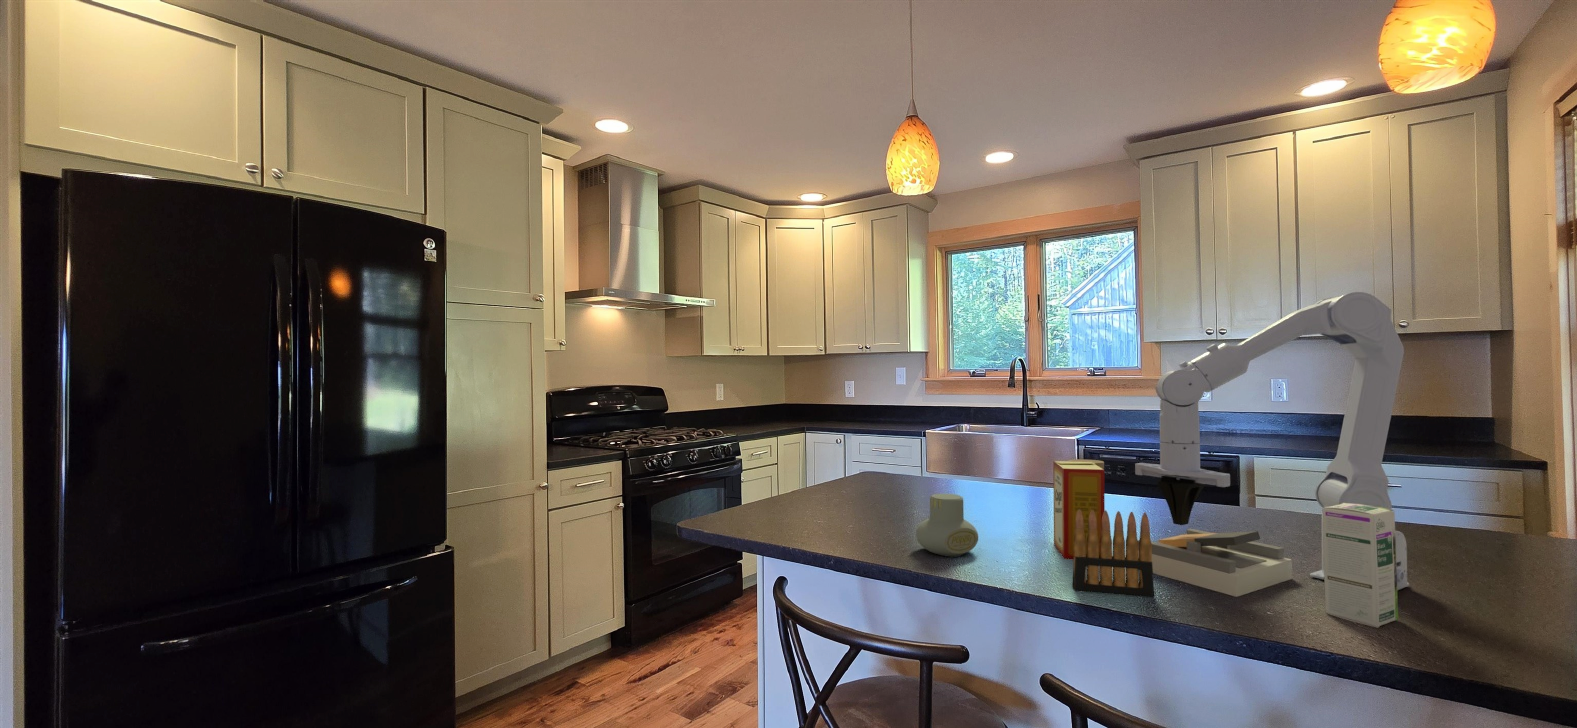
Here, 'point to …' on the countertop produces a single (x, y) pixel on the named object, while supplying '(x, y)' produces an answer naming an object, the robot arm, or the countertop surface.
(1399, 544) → the robot arm
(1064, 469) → the baking soda box
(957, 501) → the air freshener
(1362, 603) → the syrup box
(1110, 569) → the ammunition clip
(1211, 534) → the breaker rocker
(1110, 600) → the countertop surface
